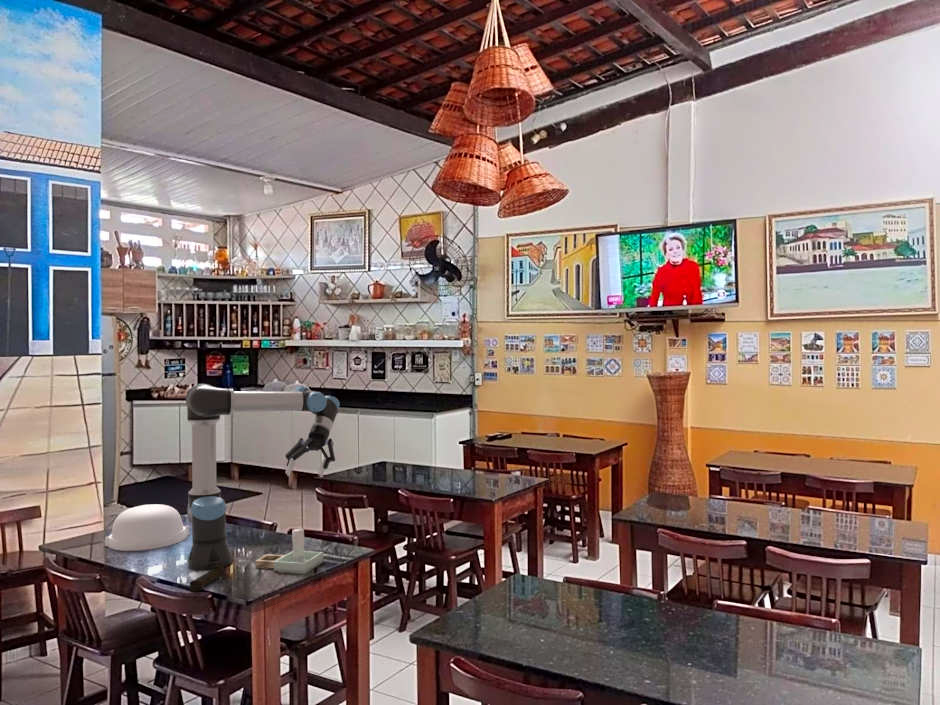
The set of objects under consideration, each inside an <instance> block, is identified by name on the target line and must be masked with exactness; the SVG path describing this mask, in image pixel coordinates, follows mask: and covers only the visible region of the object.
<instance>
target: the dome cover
mask: <svg viewBox="0 0 940 705" xmlns="http://www.w3.org/2000/svg"><path fill="white" fill-rule="evenodd" d="M188 536H190V526H189V525H185V526H184V523H183V520H182V517H181V515H180V512H178V510H177V509H175V508H174V507H172V506H170V505H167V504H162V503H161V504H157V503H155V504H154V503H153V504H142V505H137V506H134V507H130V508H128V509H127V508H126V510H123V511H121V512H120V513H119V514H118V515H117V516H116V518H115V520H114V522H113V525H112V528H111V533H110V534H109V535H108V536H105V539H104V546H105V547H108V548H109V549H111V550H114V551H115V550H116V551H123V552H124V551H125V552H126V551H127V552H129V551H134V552H135V551H145V550H153V549H159V548H165V547H168V546H171V545H175V544H178V543H180V542H183V541H184V540H186V539H187V538H188Z"/></svg>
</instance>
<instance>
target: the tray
mask: <svg viewBox="0 0 940 705" xmlns="http://www.w3.org/2000/svg"><path fill="white" fill-rule="evenodd" d="M304 551H305V563H297V562H293V550H291V551H290V552H288V553H286V554H284V555H285V556H283V557H281V558H279V559H278V560H276V561H274V569H273V572H274V571H278V572H277V573H285V572H290V574H299V575H300V574H302V575H303V574H304V575H305V574H308V573H309V572H310V571H312V570H313V569H315V568H317V567H318V566H319V565H321V564H323V563H324V551H310V550H309V551H308V550H304Z"/></svg>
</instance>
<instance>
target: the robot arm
mask: <svg viewBox="0 0 940 705" xmlns="http://www.w3.org/2000/svg"><path fill="white" fill-rule="evenodd" d="M185 403H186V408H187V411H186V413H187V416H186V418H187V422H189V423H190V424H191V448H192V449H191V459H192V460H191V464H192V465H191V468H192V469H191V470H192V471H191V472H192V474H191V476H192V477H191V478H192V480H191V481H192V482H191V483H192V488H191V489H190V490H189V491H188V492H187V494H188V495H187V496H188V498H187V499H188V502H187V508H186V512H187V516H188V519H189V520H190V523H191V533H192V538H191V539H192V546H191V549H190V553H189V556H188V559H187V568H189V569H191V570H195V571H196V570H197V571H207V570H208V571H210V570H211V569H212V566H213V565H215V564H217V563H220V562H222V563H223V567H226V566H229V565H231V562H232V563H233V554H232V552H231V549H230V546H229V543H228V541H227V518H226V517H227V516H226V510H227V506H226V502H225V499H224V498H222V496H221V495H222V492H221V489H220V488H219V487H218V486H217V423H218V422H219V421H220V420H221V416H230V415H232V414H233V413H245V412H246V413H252V412H253V413H254V412H255V413H256V412H258V413H259V412H263V413H264V412H310V413H311V414H312V415H313V414H314V415H315V417H314V420H313V423H312V425H311V428H310V430H309V433H308V438H306V439H303V438H302V437H300V438H299V440H298V442H297V443H296V444H295V445H294V446H293V447H292V448H291V449H290V450H289V451H288V452H287V453H286V454H285V455H284V456H285V459H286V460H287V462H286V470H285V474H286V477H291V474H292V472H293V469H294V466H295V464H296V462H295V461H296V460H297V459H299V458H300V457H302V456H304V454H306V453H309V452H311V451H312V452H313V451H314V452H315V451H316V452H319V451H320V452H321V453H322V455H323V457H324V458H323V459H322V462H321V464H320V467H319V469H318V472H317V474H318V476H319V477H320V478H323V477H324V474H325V470H328V468H329V465H330V463H331V462H333V463H334V462H335V461H336V457H335V456H336V455H335V452H334V441H333V440H332V438H329V436H330V434H331V431H332V428H333V425H334V422H335V420H336V417H337V414H338V413H339V409H340V403H341V402H340V401H339V399H338V398H337V397H335V396H332V395H325V394H323V392H321V391H315V390H311V389H310V388H308V387H307V386H304V385H302V384H300V385H298V386H297V387H296V388H295V389H294V390H293V391H262V390H261V391H257V390H256V391H252V390H251V391H248V390H247V391H246V390H245V391H236V390H235V391H234V390H233V389H232V388H221V387H217V386H213V385H211V384H209V383H198V384H195V385H194V386H192V387H191V388H190V389H189V390H188V392H187V393H186V396H185ZM326 445H327V447H328V453H329V456H328V454H327V452H326V450H325V449H324V446H326ZM228 564H229V565H228Z"/></svg>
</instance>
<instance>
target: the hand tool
mask: <svg viewBox="0 0 940 705" xmlns="http://www.w3.org/2000/svg"><path fill="white" fill-rule="evenodd" d="M224 567H225V566H224ZM224 567H223V563H222V562H220V563H217V564H215V565H213V566H212V569H209V570H208V571H207V572H205V573H204V574H202V575H201V576H199V577H198V578H196V579H194V580H190V582H189V590H190V591H191V592H200V591H202V590H203V588H204V587H206V586H207V585H208V584H210V583H212V582H213V581H214V580H215V579H216V578H218V579H220V578H221V577H222V576H223V575H224V574H225V571H224ZM222 574H223V575H222ZM219 577H220V578H219ZM216 580H217V579H216Z"/></svg>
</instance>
